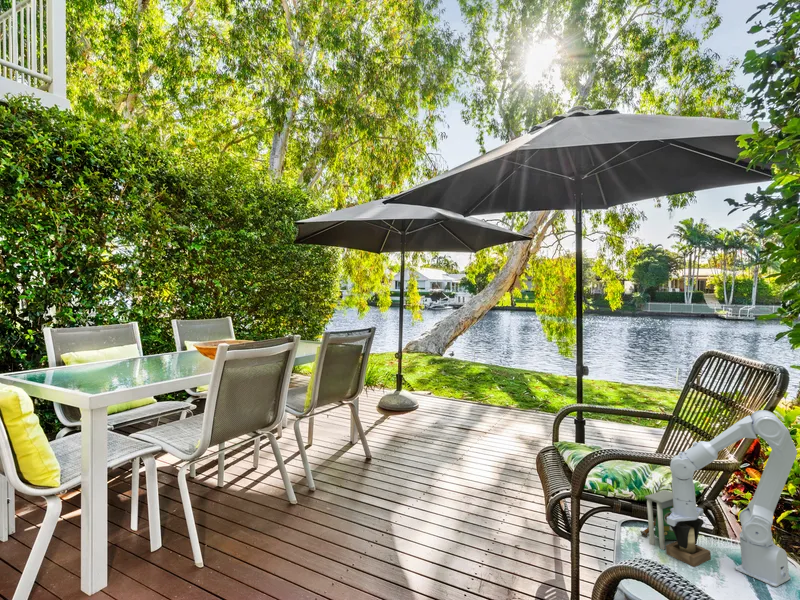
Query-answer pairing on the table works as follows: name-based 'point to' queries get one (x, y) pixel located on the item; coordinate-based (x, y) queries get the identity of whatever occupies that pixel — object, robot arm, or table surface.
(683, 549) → the peg
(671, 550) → the socket block
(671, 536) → the coffee box
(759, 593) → the table surface
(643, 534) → the wooden post with brackets
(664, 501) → the miniature side table
